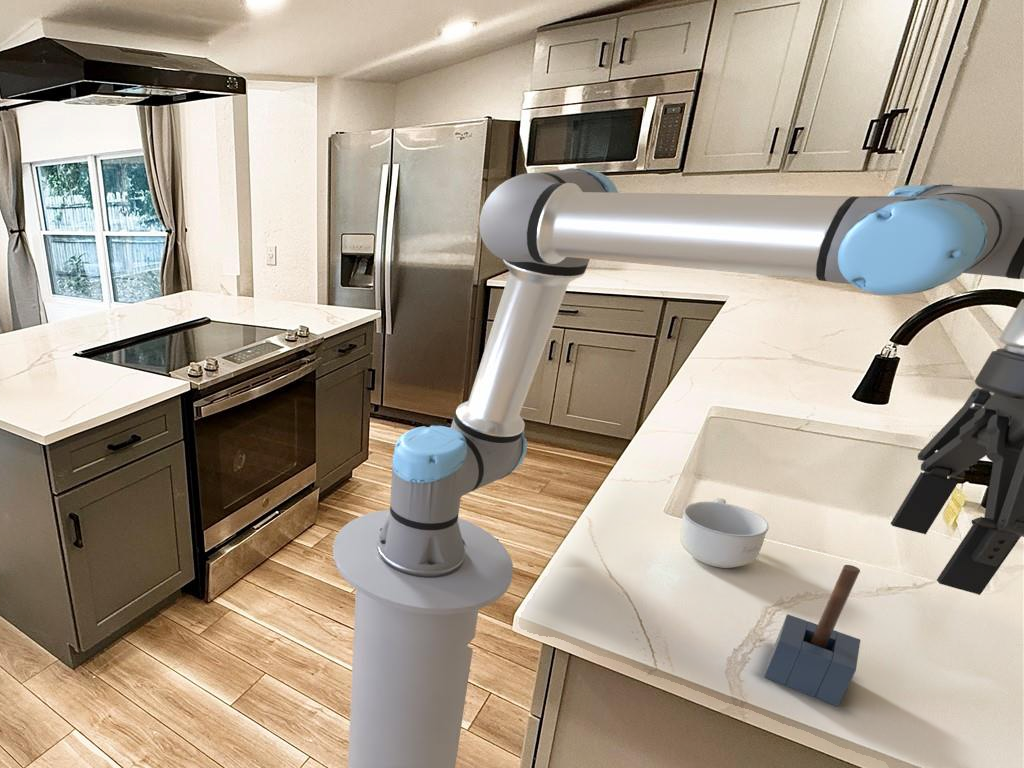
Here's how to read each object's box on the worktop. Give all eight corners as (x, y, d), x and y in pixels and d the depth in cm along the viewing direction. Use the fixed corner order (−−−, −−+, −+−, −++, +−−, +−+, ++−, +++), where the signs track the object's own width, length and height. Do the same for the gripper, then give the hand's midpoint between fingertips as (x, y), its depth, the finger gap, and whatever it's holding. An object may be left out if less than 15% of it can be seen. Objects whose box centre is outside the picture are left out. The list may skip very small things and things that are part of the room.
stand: (764, 677, 79) (778, 641, 77) (772, 648, 83) (787, 613, 81) (837, 707, 74) (856, 670, 72) (843, 675, 79) (860, 639, 76)
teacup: (750, 585, 95) (766, 542, 92) (667, 560, 102) (679, 519, 99) (758, 545, 105) (773, 505, 101) (681, 524, 111) (693, 486, 108)
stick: (795, 676, 79) (843, 568, 72) (797, 670, 80) (844, 563, 73) (810, 682, 78) (859, 573, 71) (811, 676, 79) (860, 567, 72)
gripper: (1234, 399, 43) (1048, 637, 51) (1046, 341, 62) (934, 520, 71) (1074, 375, 46) (925, 601, 55) (945, 327, 66) (849, 499, 74)
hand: (930, 556), depth 63 cm, fingers open, 13 cm apart
